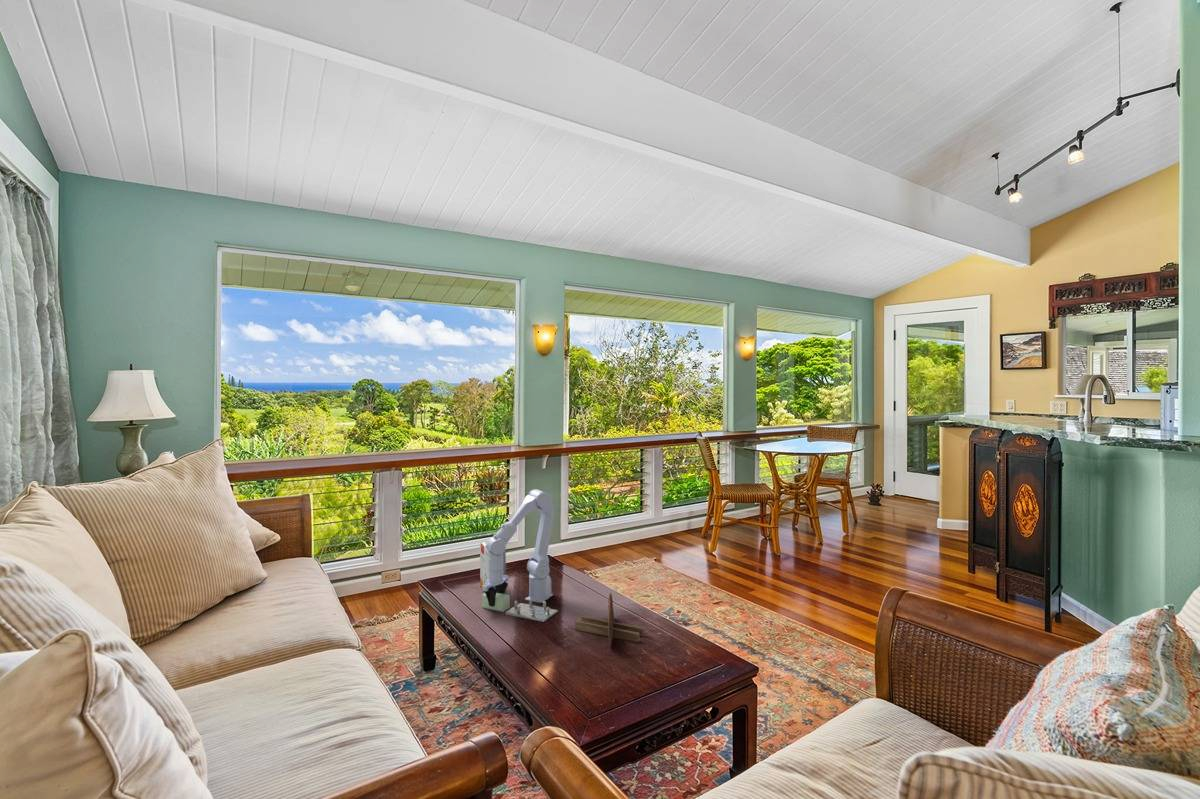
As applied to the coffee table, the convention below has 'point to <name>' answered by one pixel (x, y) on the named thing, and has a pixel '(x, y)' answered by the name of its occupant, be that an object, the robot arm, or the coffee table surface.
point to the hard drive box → (484, 563)
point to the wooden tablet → (610, 619)
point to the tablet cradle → (602, 628)
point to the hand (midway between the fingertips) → (495, 603)
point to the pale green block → (497, 602)
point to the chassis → (531, 611)
